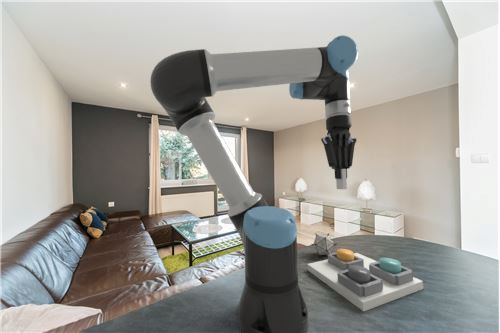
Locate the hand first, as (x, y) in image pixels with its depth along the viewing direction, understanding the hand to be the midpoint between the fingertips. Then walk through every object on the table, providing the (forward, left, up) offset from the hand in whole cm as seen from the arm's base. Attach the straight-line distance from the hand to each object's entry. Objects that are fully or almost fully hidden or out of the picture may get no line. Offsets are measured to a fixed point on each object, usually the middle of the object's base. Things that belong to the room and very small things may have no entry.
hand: (341, 189), depth 60 cm
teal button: (+7, -9, -24) cm, 26 cm away
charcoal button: (-5, -9, -24) cm, 26 cm away
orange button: (+1, +1, -24) cm, 24 cm away
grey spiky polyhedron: (+3, +13, -27) cm, 30 cm away
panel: (+1, -4, -26) cm, 27 cm away
